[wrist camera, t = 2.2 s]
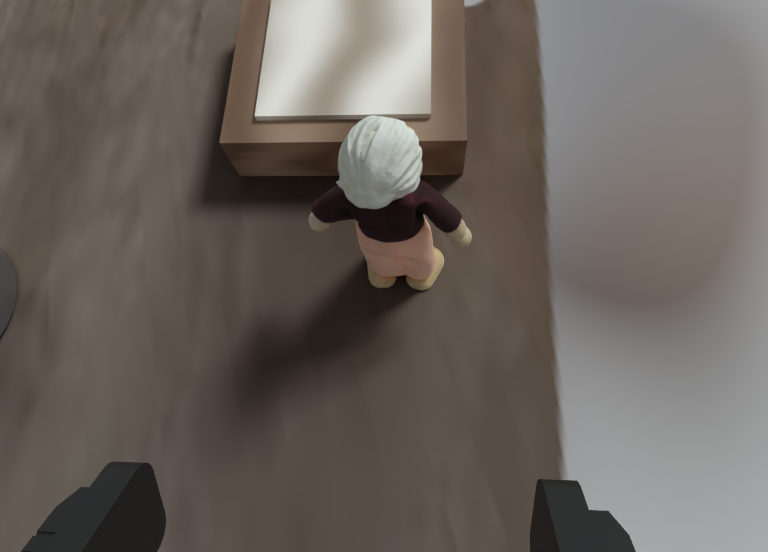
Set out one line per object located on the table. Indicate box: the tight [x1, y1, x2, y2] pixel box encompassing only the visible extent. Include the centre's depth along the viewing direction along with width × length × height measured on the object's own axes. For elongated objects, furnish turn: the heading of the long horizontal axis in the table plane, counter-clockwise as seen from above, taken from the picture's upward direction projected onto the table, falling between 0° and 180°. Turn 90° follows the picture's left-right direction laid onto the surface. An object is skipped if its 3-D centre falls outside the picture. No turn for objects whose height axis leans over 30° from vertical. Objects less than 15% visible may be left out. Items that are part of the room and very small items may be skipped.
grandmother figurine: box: [308, 115, 472, 290], centre depth 24 cm, size 8×4×13 cm, turn 94°
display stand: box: [219, 0, 467, 176], centre depth 33 cm, size 14×12×4 cm
